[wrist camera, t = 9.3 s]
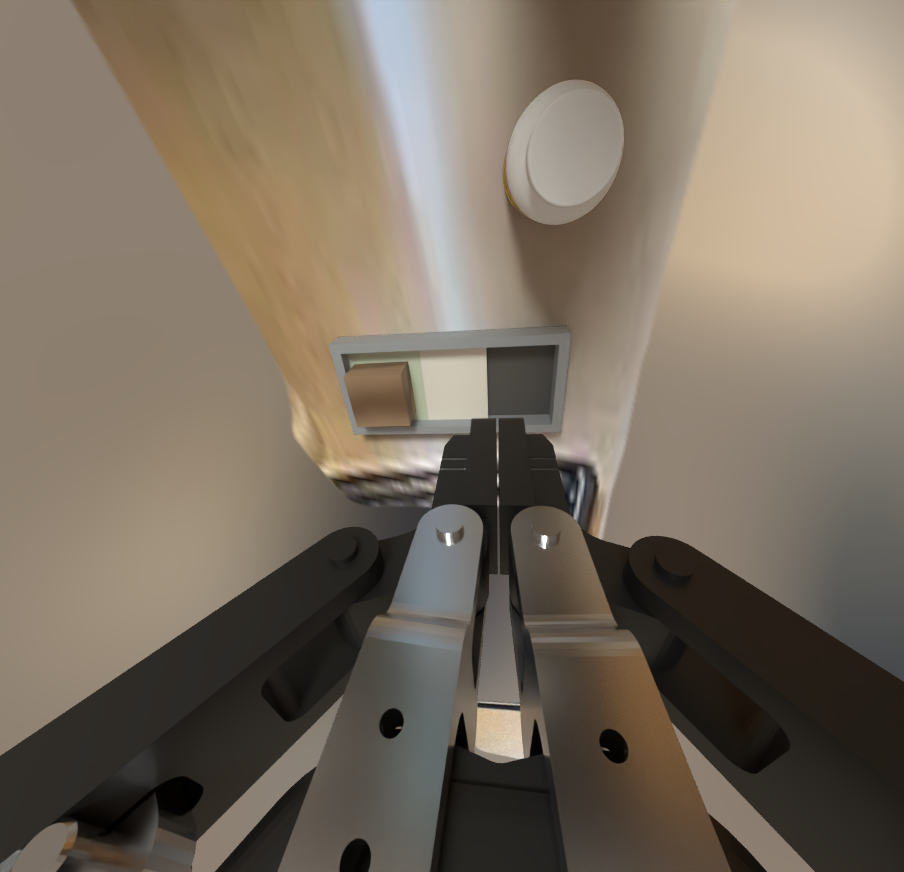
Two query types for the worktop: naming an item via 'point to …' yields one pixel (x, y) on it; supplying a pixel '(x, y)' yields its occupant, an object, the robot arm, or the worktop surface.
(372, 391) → the block
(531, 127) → the supplement bottle
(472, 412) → the tray
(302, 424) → the worktop surface
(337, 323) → the worktop surface
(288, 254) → the worktop surface
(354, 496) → the worktop surface
